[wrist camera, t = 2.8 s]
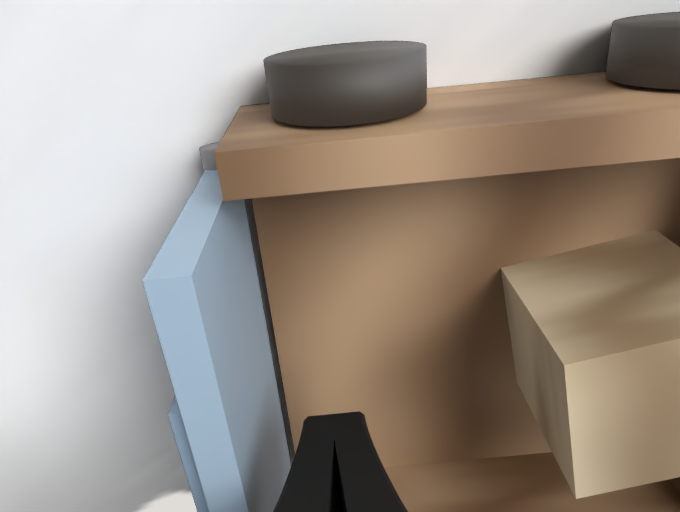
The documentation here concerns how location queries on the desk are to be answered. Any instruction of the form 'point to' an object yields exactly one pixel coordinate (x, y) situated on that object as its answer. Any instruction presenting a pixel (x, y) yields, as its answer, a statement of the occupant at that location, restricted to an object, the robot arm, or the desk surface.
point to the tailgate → (218, 353)
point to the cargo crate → (602, 358)
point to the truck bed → (446, 244)
